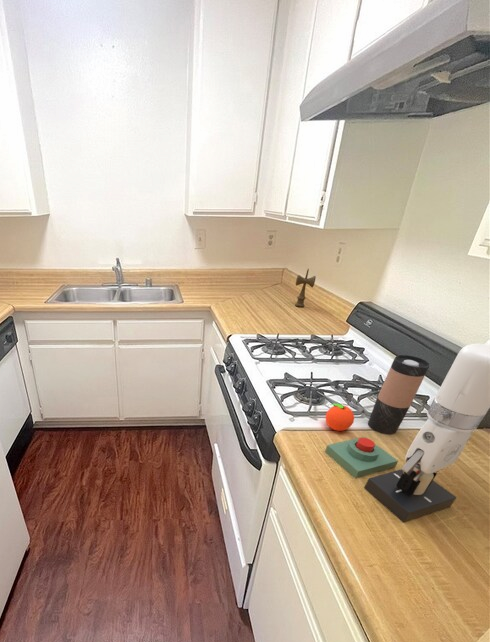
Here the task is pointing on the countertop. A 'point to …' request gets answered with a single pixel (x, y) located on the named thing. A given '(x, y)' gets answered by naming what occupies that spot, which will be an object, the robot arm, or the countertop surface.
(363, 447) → the red push button
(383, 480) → the dial panel
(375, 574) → the countertop surface
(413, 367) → the travel mug
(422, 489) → the panel dial knob
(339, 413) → the clementine
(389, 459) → the button base
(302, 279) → the kendama
